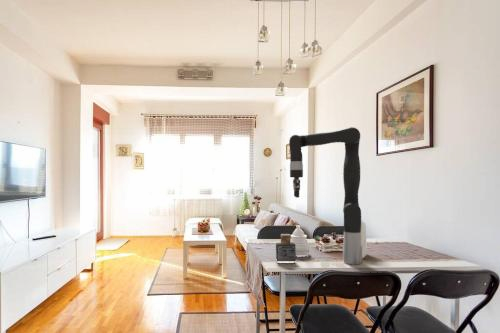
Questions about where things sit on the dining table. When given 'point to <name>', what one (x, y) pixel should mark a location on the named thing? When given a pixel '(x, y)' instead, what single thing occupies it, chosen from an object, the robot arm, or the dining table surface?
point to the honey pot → (300, 241)
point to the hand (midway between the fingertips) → (296, 196)
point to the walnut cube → (285, 238)
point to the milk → (362, 240)
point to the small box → (285, 252)
